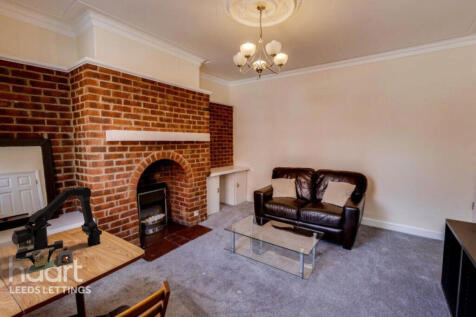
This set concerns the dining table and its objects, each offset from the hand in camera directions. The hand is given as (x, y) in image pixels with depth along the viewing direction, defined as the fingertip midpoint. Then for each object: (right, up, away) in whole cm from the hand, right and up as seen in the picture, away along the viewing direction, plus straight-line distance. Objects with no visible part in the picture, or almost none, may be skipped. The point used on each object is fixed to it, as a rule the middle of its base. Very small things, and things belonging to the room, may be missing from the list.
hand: (42, 263), depth 118 cm
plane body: (+7, -1, +8) cm, 10 cm away
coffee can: (-17, -1, +11) cm, 20 cm away
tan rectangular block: (0, +1, 0) cm, 1 cm away
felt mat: (0, -2, 0) cm, 2 cm away
